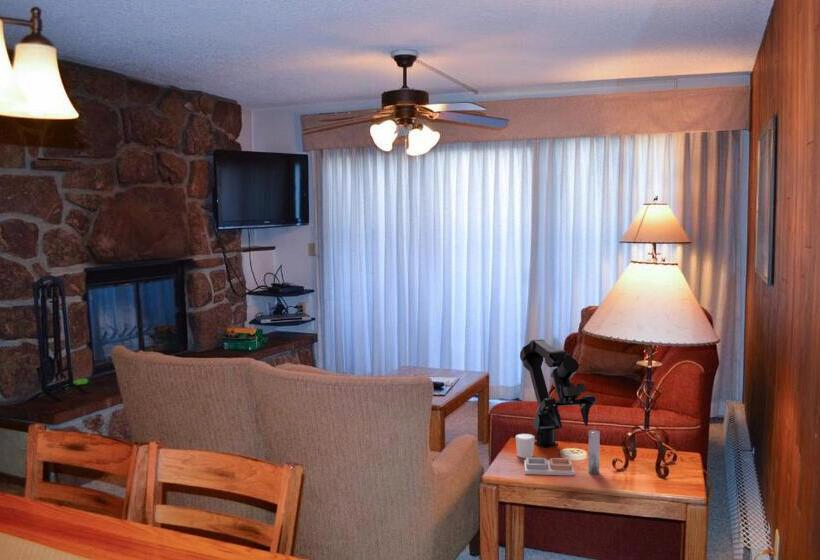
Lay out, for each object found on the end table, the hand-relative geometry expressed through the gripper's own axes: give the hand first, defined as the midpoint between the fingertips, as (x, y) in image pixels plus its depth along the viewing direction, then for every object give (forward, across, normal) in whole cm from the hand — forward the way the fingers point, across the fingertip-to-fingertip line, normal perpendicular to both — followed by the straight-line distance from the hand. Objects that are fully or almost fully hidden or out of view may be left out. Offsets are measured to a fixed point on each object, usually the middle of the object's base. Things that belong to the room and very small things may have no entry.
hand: (573, 427), depth 248 cm
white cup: (+2, -12, +21) cm, 24 cm away
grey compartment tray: (+11, -9, +9) cm, 17 cm away
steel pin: (+15, +5, +4) cm, 16 cm away
